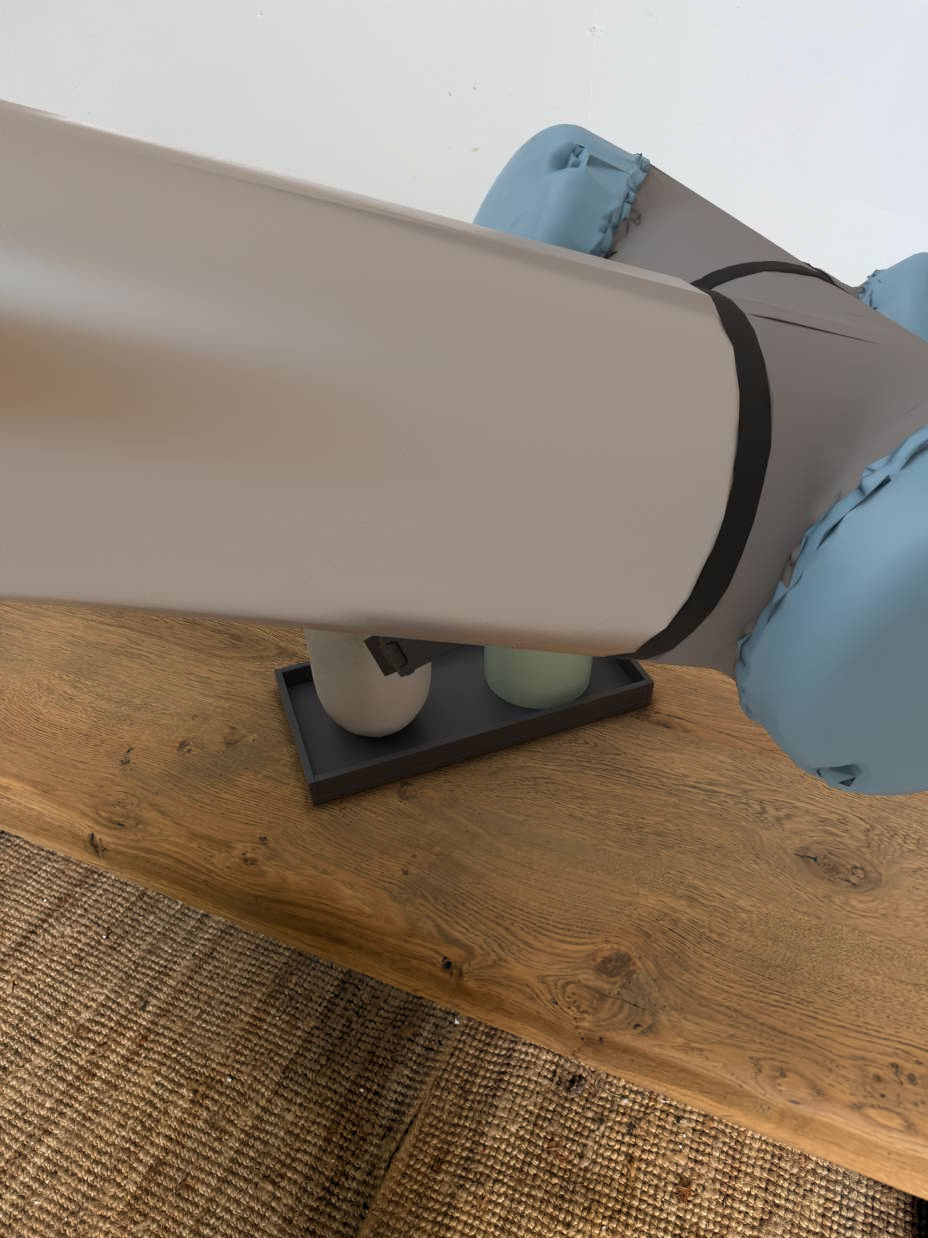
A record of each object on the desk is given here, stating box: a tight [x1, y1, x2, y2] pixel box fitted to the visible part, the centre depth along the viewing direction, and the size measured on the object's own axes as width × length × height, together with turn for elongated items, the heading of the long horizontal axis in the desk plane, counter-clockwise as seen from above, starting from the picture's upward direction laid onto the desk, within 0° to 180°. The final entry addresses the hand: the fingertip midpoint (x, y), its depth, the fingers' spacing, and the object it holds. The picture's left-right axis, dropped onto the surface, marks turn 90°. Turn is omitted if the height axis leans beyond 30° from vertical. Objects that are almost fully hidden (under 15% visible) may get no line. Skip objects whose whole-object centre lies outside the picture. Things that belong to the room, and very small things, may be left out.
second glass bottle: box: [484, 646, 593, 709], centre depth 72 cm, size 10×10×28 cm
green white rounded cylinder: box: [302, 629, 431, 737], centre depth 68 cm, size 10×10×28 cm
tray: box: [273, 644, 655, 806], centre depth 78 cm, size 31×14×3 cm, turn 111°
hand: (454, 608), depth 59 cm, fingers open, 13 cm apart
